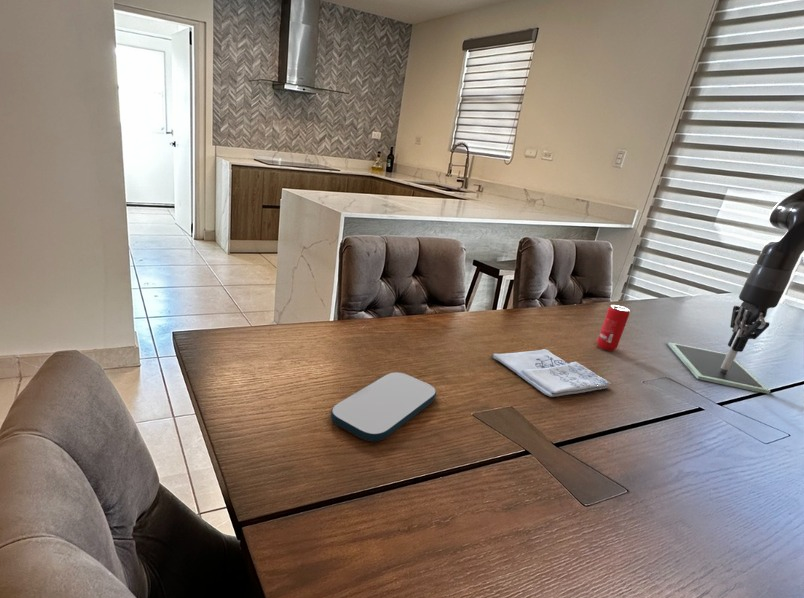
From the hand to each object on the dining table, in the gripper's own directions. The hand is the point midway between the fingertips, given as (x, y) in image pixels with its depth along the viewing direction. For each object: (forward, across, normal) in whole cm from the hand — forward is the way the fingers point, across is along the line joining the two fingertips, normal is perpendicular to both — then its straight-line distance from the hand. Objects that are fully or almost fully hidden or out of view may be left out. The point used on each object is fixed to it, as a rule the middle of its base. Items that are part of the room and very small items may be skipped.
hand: (734, 348), depth 120 cm
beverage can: (+8, +3, +28) cm, 29 cm away
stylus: (+7, 0, 0) cm, 7 cm away
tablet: (+8, +5, 0) cm, 9 cm away
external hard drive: (+8, -56, +79) cm, 97 cm away
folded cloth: (+8, -23, +46) cm, 52 cm away
